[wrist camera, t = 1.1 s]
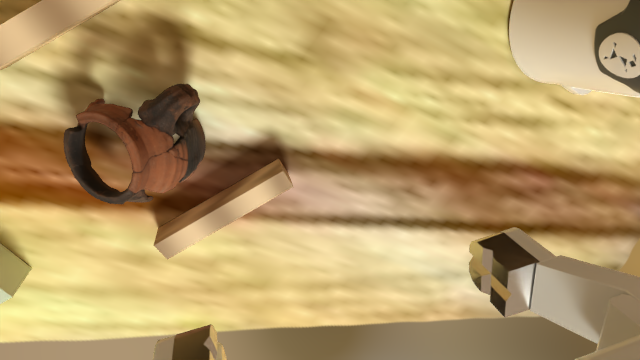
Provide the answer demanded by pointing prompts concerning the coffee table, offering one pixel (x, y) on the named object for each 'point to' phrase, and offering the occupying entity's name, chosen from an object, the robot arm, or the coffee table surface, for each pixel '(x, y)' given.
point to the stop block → (11, 273)
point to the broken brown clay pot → (142, 144)
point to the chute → (199, 222)
